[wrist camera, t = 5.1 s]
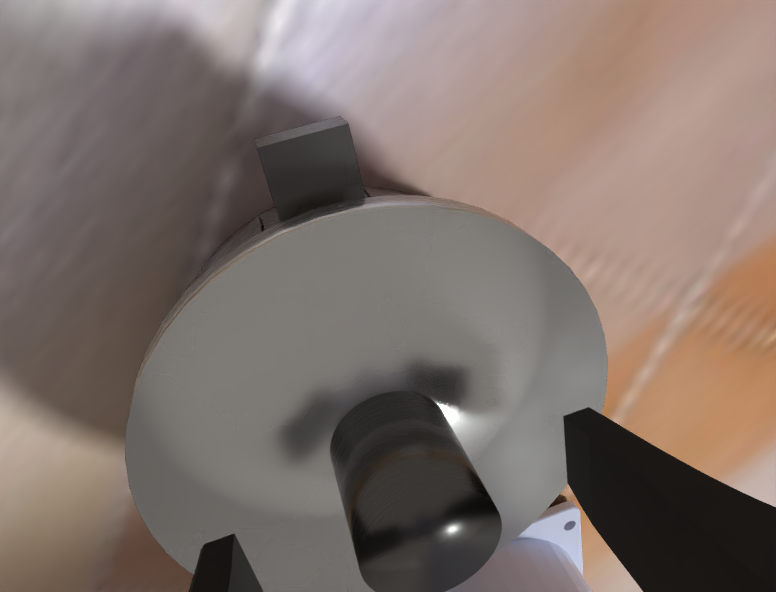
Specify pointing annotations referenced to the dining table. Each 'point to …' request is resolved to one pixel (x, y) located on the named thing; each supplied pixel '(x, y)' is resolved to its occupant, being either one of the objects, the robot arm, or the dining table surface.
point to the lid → (365, 397)
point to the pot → (304, 176)
